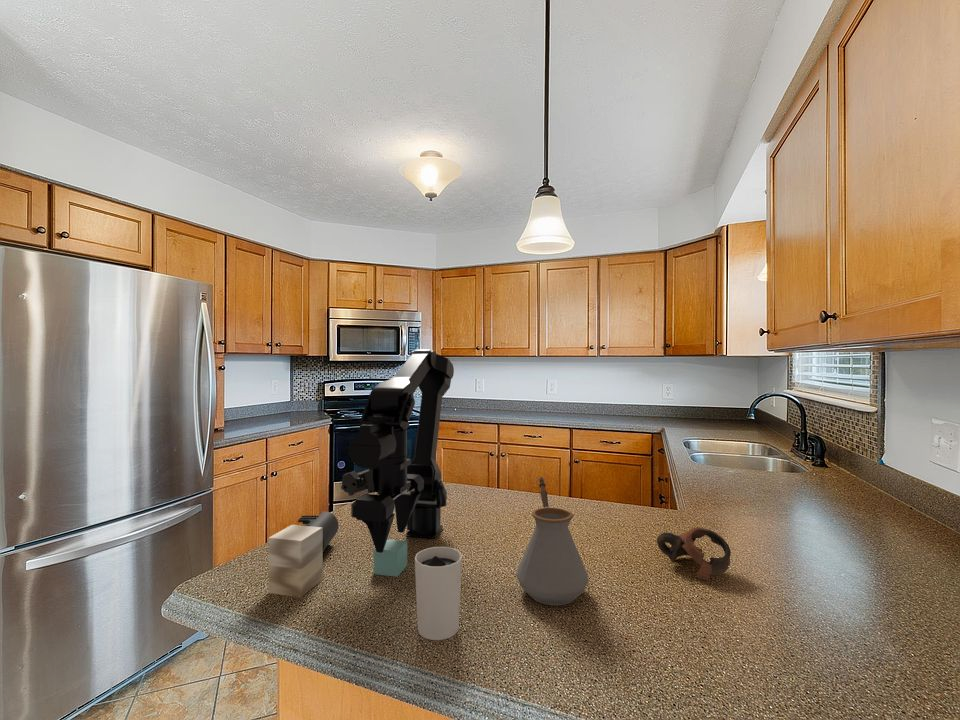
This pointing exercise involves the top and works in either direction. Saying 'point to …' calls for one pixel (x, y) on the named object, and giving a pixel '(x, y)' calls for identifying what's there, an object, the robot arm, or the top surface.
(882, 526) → the top surface
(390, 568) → the teal block
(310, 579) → the tower bottom block
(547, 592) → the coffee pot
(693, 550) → the brown curved piece
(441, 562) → the white cup
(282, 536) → the tower middle block
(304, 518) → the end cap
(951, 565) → the top surface
